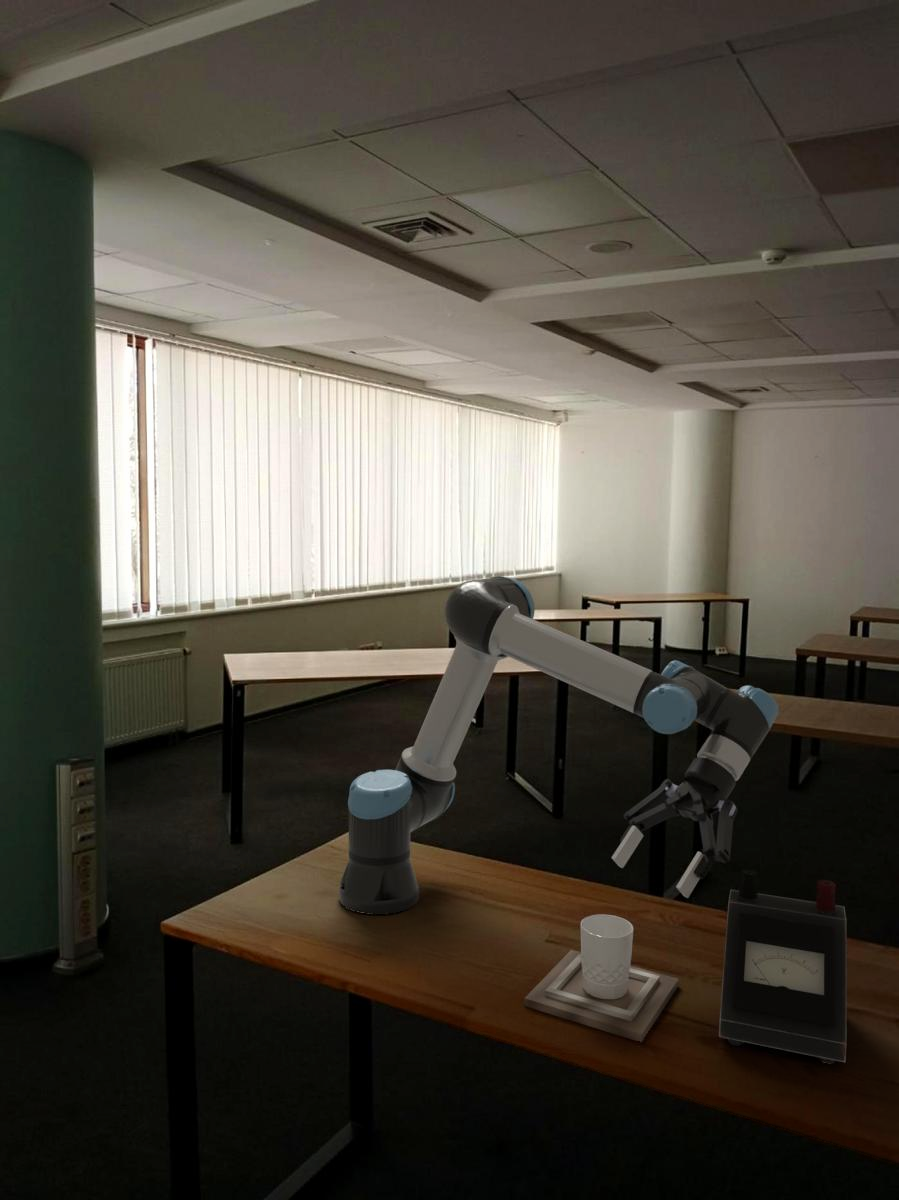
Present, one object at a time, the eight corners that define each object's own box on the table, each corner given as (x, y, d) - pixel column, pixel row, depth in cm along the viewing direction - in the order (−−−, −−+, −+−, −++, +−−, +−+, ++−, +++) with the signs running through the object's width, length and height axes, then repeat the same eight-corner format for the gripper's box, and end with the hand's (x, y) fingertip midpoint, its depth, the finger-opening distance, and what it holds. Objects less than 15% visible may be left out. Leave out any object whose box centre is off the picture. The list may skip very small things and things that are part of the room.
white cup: (599, 1007, 133) (600, 941, 132) (568, 982, 140) (570, 919, 139) (642, 995, 137) (644, 931, 136) (610, 971, 144) (612, 910, 143)
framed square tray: (524, 1005, 136) (524, 993, 135) (571, 956, 151) (571, 945, 151) (641, 1042, 127) (641, 1028, 126) (678, 986, 142) (678, 973, 142)
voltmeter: (718, 1047, 126) (724, 908, 124) (725, 991, 141) (731, 866, 139) (844, 1074, 120) (853, 928, 118) (838, 1011, 136) (845, 882, 134)
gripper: (791, 803, 140) (723, 919, 133) (668, 765, 161) (603, 864, 154) (771, 774, 137) (700, 892, 130) (648, 739, 157) (581, 839, 150)
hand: (648, 877), depth 142 cm, fingers open, 13 cm apart
